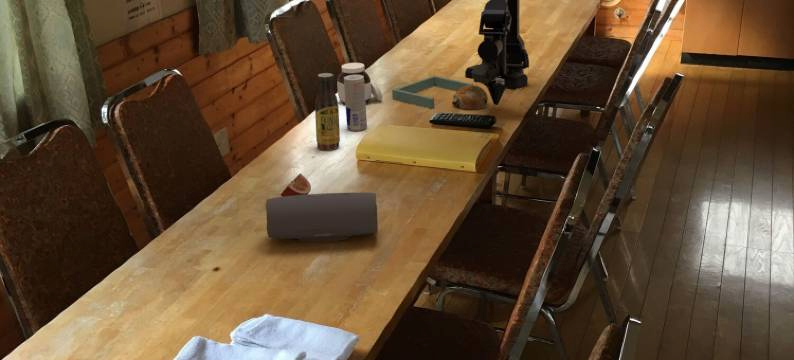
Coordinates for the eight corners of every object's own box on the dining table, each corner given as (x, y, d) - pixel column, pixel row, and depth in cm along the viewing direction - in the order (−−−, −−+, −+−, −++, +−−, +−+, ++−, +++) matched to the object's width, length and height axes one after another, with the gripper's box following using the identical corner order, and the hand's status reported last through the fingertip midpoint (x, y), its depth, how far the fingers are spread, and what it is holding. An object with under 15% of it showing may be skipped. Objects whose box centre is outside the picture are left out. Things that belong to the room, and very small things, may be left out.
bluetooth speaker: (377, 226, 203) (375, 183, 199) (378, 245, 194) (376, 200, 191) (272, 231, 203) (268, 189, 199) (268, 251, 194) (263, 206, 190)
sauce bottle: (322, 153, 246) (316, 79, 239) (313, 146, 252) (307, 74, 244) (345, 148, 249) (340, 75, 242) (335, 141, 254) (330, 70, 247)
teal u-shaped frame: (434, 84, 300) (434, 75, 298) (473, 93, 289) (473, 84, 288) (392, 99, 287) (392, 89, 286) (431, 108, 277) (431, 99, 275)
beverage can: (370, 125, 265) (367, 74, 259) (362, 132, 260) (359, 80, 254) (351, 124, 267) (348, 73, 261) (344, 131, 262) (340, 79, 256)
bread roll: (479, 122, 274) (490, 99, 271) (447, 107, 275) (458, 84, 271) (483, 112, 283) (494, 89, 280) (452, 97, 284) (463, 74, 280)
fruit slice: (290, 190, 224) (288, 171, 222) (316, 192, 222) (315, 173, 220) (276, 204, 216) (274, 184, 214) (303, 207, 214) (301, 186, 212)
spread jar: (334, 103, 286) (332, 66, 282) (361, 94, 294) (358, 57, 289) (362, 110, 279) (360, 72, 274) (388, 100, 286) (386, 63, 282)
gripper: (452, 53, 266) (453, 105, 272) (504, 63, 254) (504, 118, 260) (477, 45, 273) (477, 96, 279) (529, 54, 261) (528, 107, 267)
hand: (496, 104), depth 271 cm, fingers closed
